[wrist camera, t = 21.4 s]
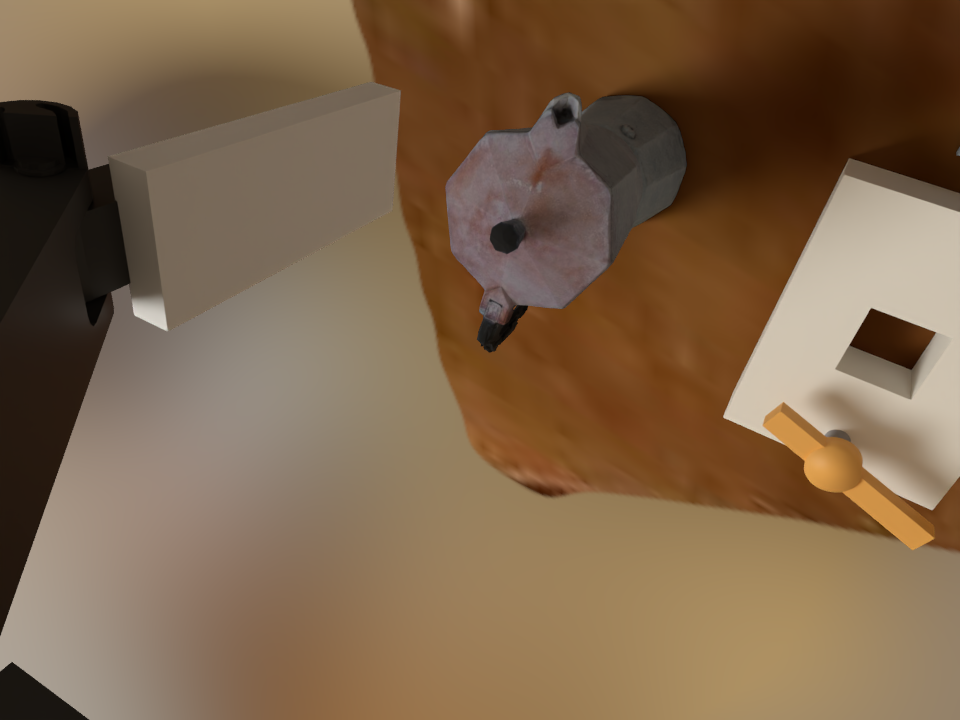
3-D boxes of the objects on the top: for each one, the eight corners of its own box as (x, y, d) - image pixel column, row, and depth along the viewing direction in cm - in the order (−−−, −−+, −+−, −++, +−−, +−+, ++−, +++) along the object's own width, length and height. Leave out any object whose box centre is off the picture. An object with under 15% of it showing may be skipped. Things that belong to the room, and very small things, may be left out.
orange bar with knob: (756, 423, 47) (752, 434, 46) (792, 394, 45) (789, 405, 44) (901, 543, 46) (901, 558, 45) (945, 520, 44) (946, 534, 43)
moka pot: (734, 72, 44) (636, 142, 29) (652, 287, 53) (544, 428, 38) (592, 29, 47) (434, 72, 31) (537, 240, 56) (393, 354, 40)
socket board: (849, 157, 43) (841, 183, 39) (1111, 241, 39) (1136, 280, 35) (733, 389, 53) (717, 431, 49) (931, 475, 49) (932, 528, 45)
